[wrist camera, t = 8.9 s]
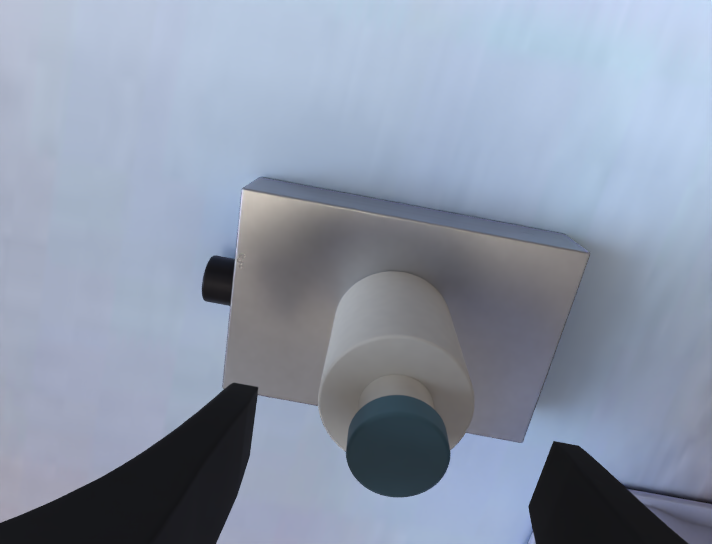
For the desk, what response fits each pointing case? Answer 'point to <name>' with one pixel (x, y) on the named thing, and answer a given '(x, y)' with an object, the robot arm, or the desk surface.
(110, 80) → the desk surface
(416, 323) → the bottle
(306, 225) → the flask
